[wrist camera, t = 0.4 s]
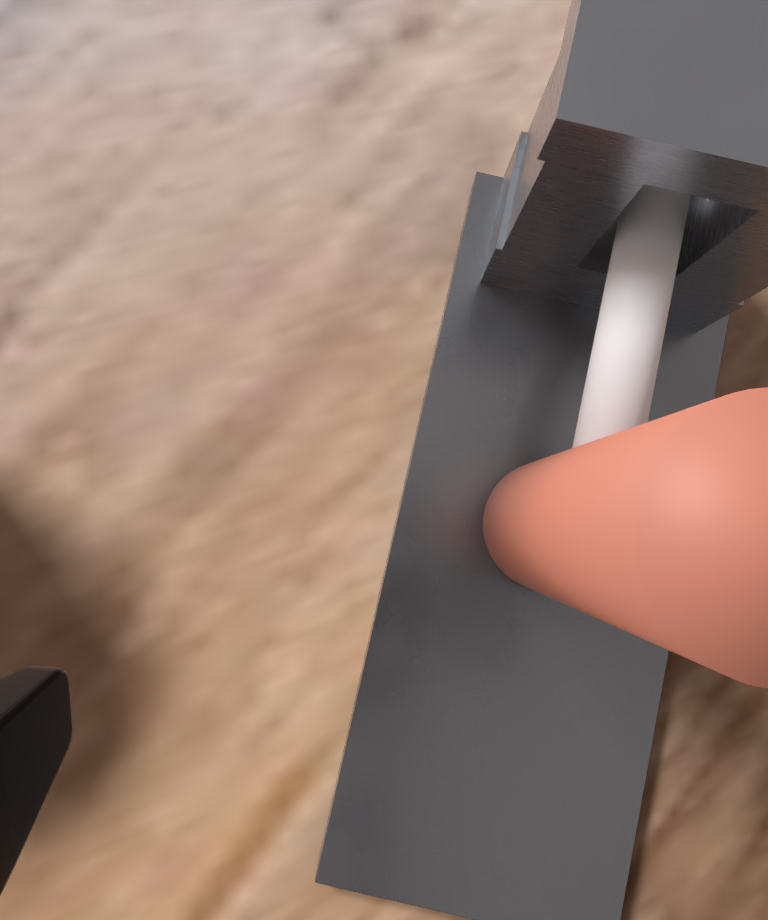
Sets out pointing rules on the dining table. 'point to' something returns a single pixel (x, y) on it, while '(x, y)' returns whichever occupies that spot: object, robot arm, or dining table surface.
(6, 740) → the robot arm
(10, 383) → the dining table surface
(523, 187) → the eye post
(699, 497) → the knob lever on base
